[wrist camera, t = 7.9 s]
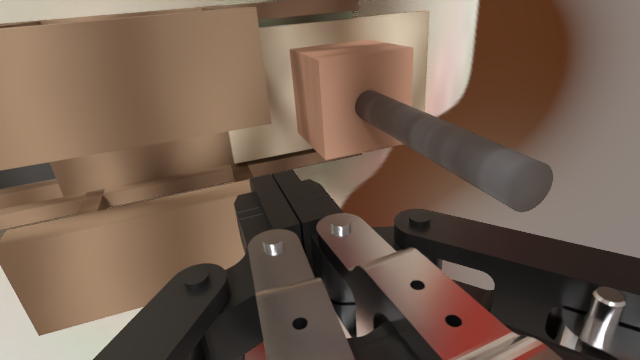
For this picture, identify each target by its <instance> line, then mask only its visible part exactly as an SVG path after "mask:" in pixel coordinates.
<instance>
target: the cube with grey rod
mask: <svg viewBox="0 0 640 360" xmlns="http://www.w3.org/2000/svg"><path fill="white" fill-rule="evenodd" d="M428 29H429V11H416V12H406V13H396V14H386V15H376V16H366V17H356V18H346V19H336V20H327V21H317V22H307V23H297V24H287V25H277V26H267V27H259V32H260V40H261V47H262V55H263V62H264V70H265V78H266V85H267V93H268V100H269V108H270V116H271V123H272V124H268V125H262V126H256V127H250V128H245V129H239V130H233V131H228V136H229V141H230V146H231V152H232V157H233V161H234V163H235V164H236V163H241V162H246V161H251V160H257V159H262V158H267V157H272V156H277V155H282V154H287V153H292V152H297V151H302V150H308V149H313V148H314V149H315V150H316V151H317V152H318V153H319V154H320V155H321V156H322V157H323V158H324V159H325V160H329V159H334V158H339V157H344V156H349V155H354V154H359V153H363V152H368V151H373V150H378V149H383V148H388V147H392V146H397V145H402V144H405V145H407V146H408V147H410V148H412V149H413V150H415V151H417V152H418V153H420V154H422V155H423V156H425V157H427V158H428V159H430V160H432V161H433V162H435V163H437V164H439V165H440V166H442V167H443V168H445V169H447V170H448V171H450V172H452V173H453V174H455V175H457V176H458V177H460V178H462V179H463V180H465V181H467V182H468V183H470V184H472V185H473V186H475V187H477V188H478V189H480V190H482V191H483V192H485V193H487V194H489V195H490V196H492V197H494V198H495V199H497V200H499V201H500V202H502V203H503V204H505V205H507V206H508V207H510V208H512V209H514V210H515V211H518V212H526V211H529V210H531V209H533V208H535V207H536V206H537V205H539V204H540V203H541V202H542V200H543V199H544V198H545V197H546V195H547V194H548V192H549V190H550V188H551V185H552V181H553V174H552V170H551V168H550V166H549V165H547V164H545V163H543V162H541V161H538V160H536V159H534V158H531V157H529V156H526V155H524V154H522V153H519V152H517V151H515V150H512V149H510V148H508V147H505V146H503V145H501V144H498V143H496V142H494V141H491V140H489V139H486V138H484V137H482V136H479V135H477V134H475V133H472V132H470V131H468V130H465V129H463V128H461V127H458V126H456V125H454V124H451V123H449V122H446V121H444V120H442V119H439V118H437V117H435V116H432V115H430V114H428V113H425V112H424V110H425V90H426V70H427V49H428Z"/></svg>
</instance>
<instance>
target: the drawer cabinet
mask: <svg viewBox="0 0 640 360" xmlns="http://www.w3.org/2000/svg"><path fill="white" fill-rule="evenodd" d="M356 10H358V0H282V1H270V2H258V3H246V4H234V5H222V6H210V7H197V8H185V9H173V10H161V11H149V12H137V13H125V14H113V15H101V16H89V17H77V18H65V19H53V20H41V21H29V22H17V23H5V24H0V230H2V229H7V228H11V227H16V226H21V225H26V224H31V223H35V222H40V221H45V220H50V219H55V218H59V217H64V216H69V215H74V214H76V216H71V217H67V218H62V219H57V220H52V221H48V222H43V223H38V224H33V225H28V226H24V227H19V228H14V229H9V230H6V232H5V233H4V235H3V236H2V237H1V239H0V265H1V267H2V269H3V271H4V273H5V274H6V276H7V278H8V280H9V282H10V284H11V285H12V287H13V289H14V291H15V293H16V295H17V296H18V298H19V300H20V302H21V304H22V306H23V307H24V309H25V311H26V313H27V315H28V317H29V318H30V320H31V322H32V324H33V326H34V328H35V329H36V331H37V333H38V335H39V336H40V335H44V334H47V333H51V332H54V331H58V330H62V329H65V328H69V327H72V326H76V325H80V324H83V323H87V322H90V321H94V320H98V319H101V318H105V317H108V316H112V315H115V314H119V313H123V312H126V311H130V310H133V309H137V308H141V307H144V306H146V305H147V304H148V302H149V301H150V300H151V299H152V298H153V297H154V296H155V295H156V294H157V293H158V292H159V291H160V290H161V289H162V288H163V287H164V286H165V285H166V284H167V283H168V282H169V281H170V280H171V279H172V278H173V277H174V276H175V275H176V274H177V273H179V272H180V271H182V270H184V269H186V268H188V267H190V266H193V265H197V264H203V263H212V264H217V265H219V266H221V267H222V268H223V269H224V270H226V269H228V268H230V267H232V266H234V265H235V264H236V263H238V262H239V261H240V260H241V259H242V258H243V257H244V256H245V252H244V249H243V245H242V242H241V238H240V233H239V227H238V222H237V217H236V212H235V207H234V202H235V200H236V198H237V196H238V195H241V194H245V193H250V192H251V188H250V178H253V177H257V176H261V175H266V174H271V173H276V172H281V171H285V170H290V169H295V168H300V167H305V166H309V165H314V164H319V163H324V162H329V161H333V160H338V159H343V158H348V157H353V156H357V155H362V153H359V154H354V155H349V156H344V157H339V158H334V159H329V160H325V159H324V158H323V157H322V156H321V155H320V154H319V153H318V152H317V151H316V150H315V149H314V148H313V149H308V150H302V151H297V152H292V153H287V154H282V155H277V156H272V157H267V158H262V159H257V160H251V161H246V162H241V163H236V164H235V163H234V161H233V157H232V152H231V146H230V141H229V136H228V131H233V130H239V129H245V128H250V127H256V126H262V125H268V124H272V123H271V116H270V108H269V100H268V93H267V85H266V78H265V70H264V62H263V55H262V47H261V40H260V32H259V27H267V26H277V25H287V24H297V23H307V22H317V21H327V20H336V19H346V18H353V11H356ZM233 181H235V182H234V183H229V184H225V185H220V186H215V187H210V188H205V189H201V190H196V191H191V192H186V193H182V194H177V195H172V196H167V197H162V198H158V199H153V200H148V201H143V202H138V203H134V204H129V205H124V206H119V207H115V208H110V209H107V208H108V207H112V206H117V205H122V204H127V203H132V202H136V201H141V200H146V199H151V198H156V197H160V196H165V195H170V194H175V193H180V192H184V191H189V190H194V189H199V188H204V187H208V186H213V185H218V184H223V183H228V182H233Z"/></svg>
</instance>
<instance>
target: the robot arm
mask: <svg viewBox="0 0 640 360" xmlns="http://www.w3.org/2000/svg"><path fill="white" fill-rule="evenodd" d="M250 188H251V192H250V193H245V194H241V195H238V196H237V198H236V200H235V202H234V207H235V212H236V217H237V222H238V227H239V233H240V238H241V242H242V245H243V249H244V252H245V256H244V257H243V258H242V259H241V260H240V261H239V262H238V263H236V264H235V265H234V266H232V267H230V268H228V269H226V270H224V269H223V268H222V267H221V266H219V265H217V264H212V263H203V264H197V265H193V266H190V267H188V268H186V269H184V270H182V271H180V272H179V273H177V274H176V275H175V276H174V277H173V278H172V279H171V280H170V281H169V282H168V283H167V284H166V285H165V286H164V287H163V288H162V289H161V290H160V291H159V292H158V293H157V294H156V295H155V296H154V297H153V298H152V299H151V300H150V301H149V302H148V304H147V305H146V306H145V307H144V308H143V309H142V310H141V311H140V312H139V313H138V314H137V315H136V316H135V317H134V318H133V319H132V320H131V321H130V322H129V323H128V324H127V325H126V326H125V327H124V328H123V329H122V330H121V331H120V332H119V333H118V334H117V335H116V336H115V337H114V338H113V340H112V341H111V342H110V343H109V344H108V345H107V346H106V347H105V348H104V349H103V350H102V351H101V352H100V353H99V354H98V355H97V356H96V357H95V358H94V359H93V360H245V353H247V352H248V351H250V350H251V349H253V348H254V347H256V346H257V345H259V344H260V343H262V342H263V341H264V346H265V352H266V358H267V360H640V258H636V257H632V256H627V255H623V254H618V253H614V252H610V251H605V250H601V249H596V248H592V247H587V246H583V245H579V244H574V243H570V242H565V241H561V240H557V239H552V238H548V237H543V236H539V235H535V234H531V233H526V232H522V231H517V230H513V229H508V228H504V227H499V226H495V225H491V224H486V223H482V222H478V221H473V220H469V219H465V218H460V217H455V216H451V215H447V214H442V213H438V212H433V211H429V210H424V209H410V210H406V211H403V212H400V213H399V214H398V215H397V216H396V217H395V219H394V227H370V226H369V225H368V224H367V223H366V222H365V221H363V220H362V219H361V218H360V217H358V216H356V215H352V214H347V213H343V211H342V210H341V209H340V208H339V206H338V205H337V204H336V203H335V202H334V200H333V199H332V198H330V196H329V194H328V193H327V192H326V191H325V190H324V188H323V187H322V186H321V185H320V184H319V183H317V182H314V181H312V180H310V179H309V180H304V181H301V180H300V179H299V178H298V176H297V175H296V174H295V172H294V171H293V170H292V169H291V170H286V171H282V172H277V173H272V174H268V175H263V176H258V177H253V178H250ZM442 260H446V261H449V262H452V263H456V264H460V265H463V266H466V267H470V268H473V269H477V270H480V271H483V272H485V273H487V274H488V275H490V276H491V277H492V279H493V280H494V283H495V288H494V290H484V289H481V288H478V287H474V286H472V285H468V284H465V283H462V282H459V281H455V280H452V279H450V278H449V277H448V276H447V275H446V274H445V273H443V272H442V271H441V269H442Z"/></svg>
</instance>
